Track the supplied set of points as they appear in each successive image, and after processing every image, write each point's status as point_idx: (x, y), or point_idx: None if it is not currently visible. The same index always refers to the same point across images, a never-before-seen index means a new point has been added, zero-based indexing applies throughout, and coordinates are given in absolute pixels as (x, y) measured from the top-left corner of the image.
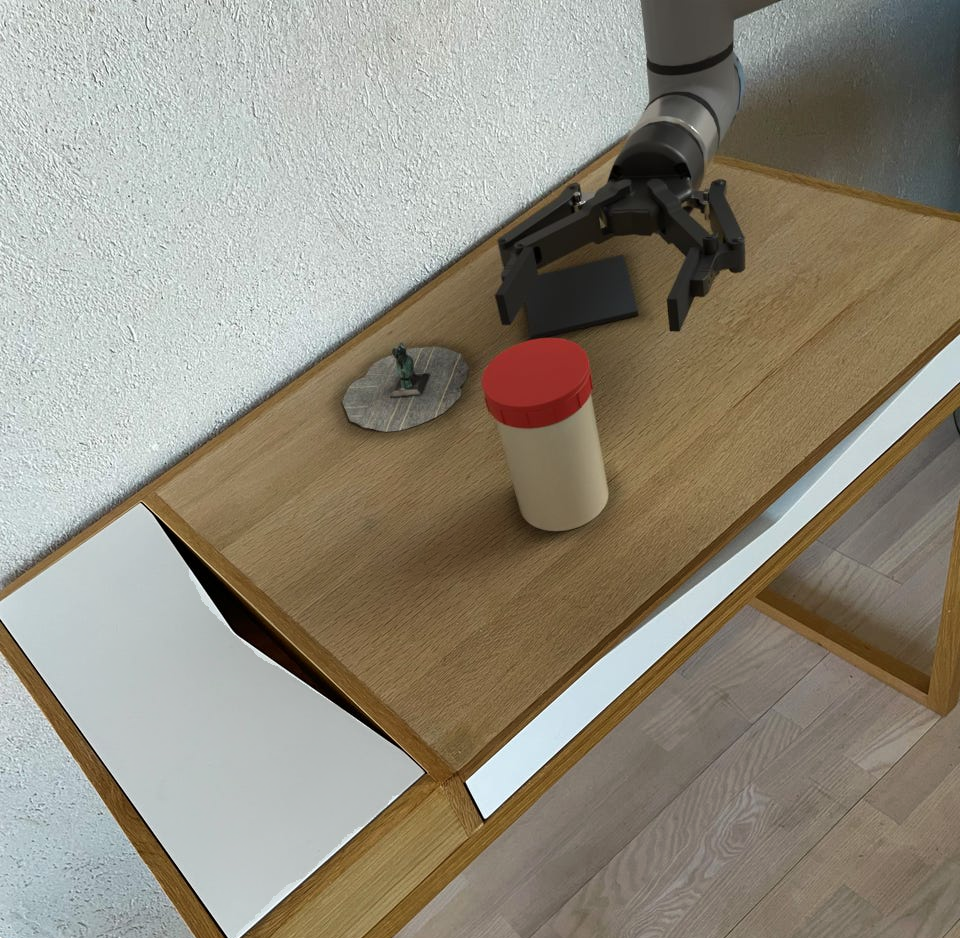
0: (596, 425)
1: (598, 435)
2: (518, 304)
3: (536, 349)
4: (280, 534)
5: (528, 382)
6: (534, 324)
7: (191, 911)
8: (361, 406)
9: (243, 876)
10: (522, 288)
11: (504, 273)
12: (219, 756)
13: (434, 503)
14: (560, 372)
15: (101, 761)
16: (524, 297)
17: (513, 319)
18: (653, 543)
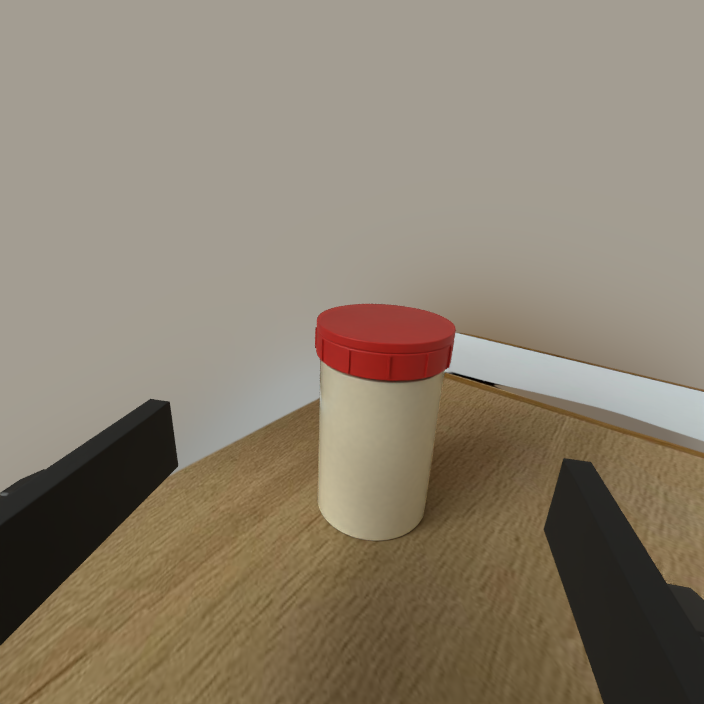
0: (319, 409)
1: (319, 426)
2: (568, 574)
3: (394, 335)
4: (688, 481)
5: (387, 315)
6: None
7: (481, 337)
8: None
9: (468, 341)
10: (590, 597)
11: (696, 605)
12: (528, 366)
13: (533, 504)
14: (351, 316)
15: (598, 366)
16: (580, 620)
17: (550, 544)
18: (272, 450)
